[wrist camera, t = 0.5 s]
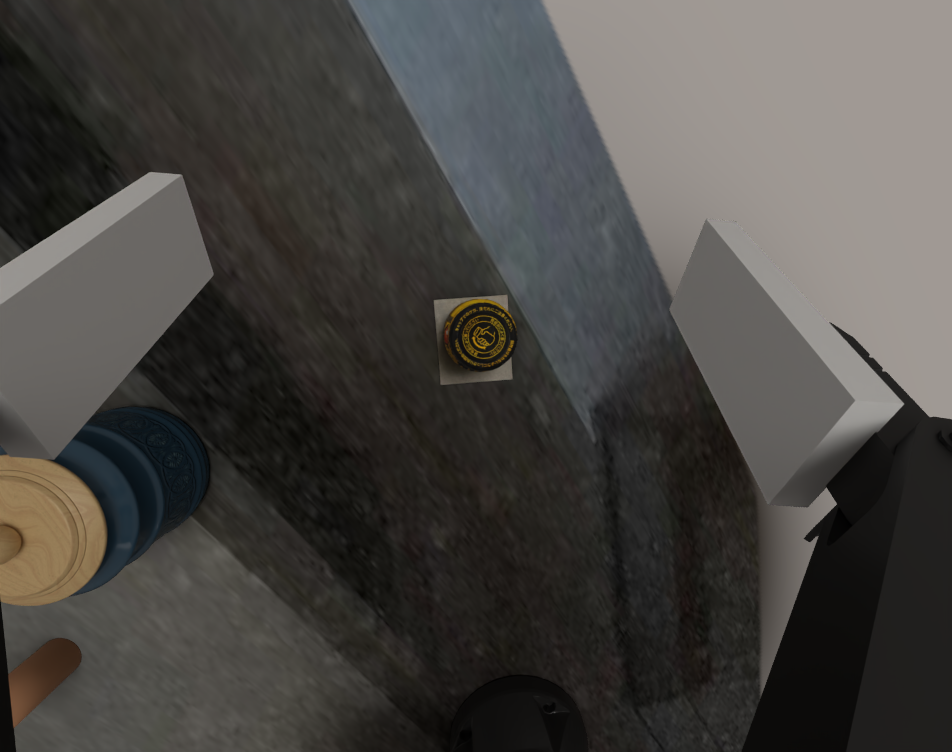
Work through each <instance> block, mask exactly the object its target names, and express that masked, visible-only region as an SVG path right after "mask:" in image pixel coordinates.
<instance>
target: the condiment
mask: <svg viewBox="0 0 952 752" xmlns="http://www.w3.org/2000/svg"><path fill="white" fill-rule="evenodd" d="M434 308H435V320H436V333H437V345H438V357H439V369H440V382H441V385H448V384H459V383H470V382H482V381H496V380H509V379H512V363H511V356H512V354H513V353H514V350H515V347H516V343H517V330H516V325H515V323H514V320H513V319H512V317H511V315H510V313H509V312H508V299H507V295H500V296H486V297H472V298H458V299H443V300H434Z"/></svg>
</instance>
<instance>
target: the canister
mask: <svg viewBox="0 0 952 752" xmlns="http://www.w3.org/2000/svg"><path fill="white" fill-rule="evenodd" d="M208 482H209V461H208V457H207V453H206V450H205V448H204V446H203V444H202V442H201V440H200V439H199V437H198V436H197V435H196V433H195V432H194V431H193V430H192V429H191V428H190V427H189V426H188V425H187V424H186V423H185V422H183V421H182V420H180V419H179V418H177V417H176V416H174V415H172V414H170V413H167V412H165V411H162V410H158V409H154V408H148V407H122V408H116V409H112V410H108V411H105V412H102V413H99V414H96V415H94V416H92V417H91V418H90V419H89V420H88V421H87V422H86V423H85V425H84V426H83V427H82V428H81V429H80V430H79V432H78V433H77V434H76V435H75V436H74V437H73V439H72V440H71V441H70V442H69V443H68V444H67V445H66V447H65V448H64V449H63V450H62V451H61V452H60V454H59V455H58V456H57V457H56V458H55V459H54V460H51V459H35V458H19V457H10V456H9V455H8V454H7V453H6V452H5V450H4V449H3V448H2V447H1V446H0V600H1V602H4V603H8V604H14V605H22V606H36V605H44V604H49V603H53V602H56V601H59V600H62V599H64V598H66V597H69V596H75V595H79V594H83V593H86V592H89V591H92V590H94V589H96V588H98V587H100V586H102V585H104V584H105V583H107V582H108V581H110V580H111V579H112V578H114V577H115V576H116V575H117V574H118V573H119V572H120V571H121V570H122V569H123V568H124V566H126V565H128V564H130V563H132V562H133V561H135V560H136V559H138V558H139V557H140V556H141V555H142V554H144V553H145V552H146V551H147V550H148V549H149V547H150V546H151V545H152V544H153V543H154V542H156V541H157V540H158V539H159V538H161V537H162V536H163V535H164V534H166V533H168V532H170V531H172V530H173V529H175V528H176V527H178V526H179V525H180V524H181V523H183V522H184V521H185V520H186V519H187V518H188V517H189V516H190V515H191V514H192V513H193V512H194V511H195V509H196V508H197V506H198V504H199V503H200V502H201V500H202V498H203V496H204V494H205V492H206V489H207V486H208Z"/></svg>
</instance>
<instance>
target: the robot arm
mask: <svg viewBox="0 0 952 752" xmlns="http://www.w3.org/2000/svg"><path fill="white" fill-rule="evenodd" d="M213 275H214V274H213V270H212V267H211V264H210V261H209V258H208V255H207V252H206V249H205V245H204V242H203V239H202V236H201V233H200V230H199V227H198V223H197V220H196V217H195V214H194V211H193V208H192V205H191V202H190V198H189V195H188V192H187V189H186V186H185V183H184V180H183V176H182V175H178V174H166V173H154V172H150V173H148V174H146V175H145V176H143V177H142V178H140V179H139V180H137V181H136V182H134V183H132V184H131V185H129V186H128V187H126V188H125V189H123V190H121V191H120V192H118V193H117V194H115V195H114V196H112V197H111V198H109V199H107V200H106V201H104V202H103V203H101V204H100V205H98V206H96V207H95V208H93V209H92V210H90V211H89V212H87V213H86V214H84V215H82V216H81V217H79V218H78V219H76V220H75V221H73V222H72V223H70V224H68V225H67V226H65V227H64V228H62V229H61V230H59V231H57V232H56V233H54V234H53V235H51V236H50V237H48V238H47V239H45V240H43V241H42V242H40V243H39V244H37V245H36V246H34V247H32V248H31V249H29V250H28V251H26V252H25V253H23V254H22V255H20V256H18V257H17V258H15V259H14V260H12V261H11V262H9V263H8V264H6V265H4V266H3V267H1V268H0V446H1V447H2V448H3V449H4V450H5V452H6V453H7V454H8V455H9V456H10V457H19V458H35V459H51V460H54V459H55V458H56V457H57V456H58V455H59V454H60V452H61V451H62V450H63V449H64V448H65V447H66V445H67V444H68V443H69V442H70V441H71V440H72V439H73V437H74V436H75V435H76V434H77V433H78V432H79V430H80V429H81V428H82V427H83V426H84V425H85V423H86V422H87V421H88V420H89V419H90V418H91V416H92V415H93V414H94V413H95V412H96V411H97V410H98V408H99V407H100V406H101V405H102V404H103V403H104V401H105V400H106V399H107V398H108V397H109V396H110V394H111V393H112V392H113V391H114V390H115V389H116V387H117V386H118V385H119V384H120V383H121V382H122V380H123V379H124V378H125V377H126V376H127V375H128V374H129V372H130V371H131V370H132V369H133V368H134V367H135V365H136V364H137V363H138V362H139V361H140V360H141V358H142V357H143V356H144V355H145V354H146V353H147V351H148V350H149V349H150V348H151V347H152V346H153V345H154V343H155V342H156V341H157V340H158V339H159V338H160V336H161V335H162V334H163V333H164V332H165V331H166V329H167V328H168V327H169V326H170V325H171V324H172V322H173V321H174V320H175V319H176V318H177V317H178V316H179V314H180V313H181V312H182V311H183V310H184V309H185V307H186V306H187V305H188V304H189V303H190V302H191V300H192V299H193V298H194V297H195V296H196V295H197V293H198V292H199V291H200V290H201V289H202V288H203V287H204V285H205V284H206V283H207V282H208V281H209V280H210V278H211V277H212V276H213ZM669 310H670V312H671V314H672V316H673V318H674V320H675V322H676V324H677V326H678V328H679V330H680V332H681V334H682V336H683V338H684V340H685V342H686V344H687V346H688V348H689V350H690V352H691V354H692V356H693V357H694V359H695V361H696V363H697V365H698V367H699V369H700V371H701V373H702V375H703V377H704V379H705V381H706V383H707V385H708V387H709V389H710V391H711V393H712V395H713V397H714V399H715V401H716V403H717V405H718V407H719V409H720V411H721V413H722V415H723V417H724V419H725V421H726V423H727V424H728V426H729V428H730V430H731V432H732V434H733V436H734V438H735V440H736V442H737V444H738V446H739V448H740V450H741V452H742V454H743V456H744V458H745V460H746V462H747V464H748V466H749V468H750V470H751V472H752V474H753V476H754V478H755V480H756V481H757V484H758V486H759V488H760V490H761V491H762V493H763V495H764V497H765V499H766V501H767V503H768V505H778V506H794V507H809V505H810V504H811V503H812V502H813V501H814V500H815V499H816V498H817V497H818V496H819V495H820V494H821V493H822V492H823V491H824V489H825V488H826V487H827V489H828V490H829V492H830V493H831V495H832V497H833V498H834V500H835V501H836V503H837V505H836V506H835V507H834V508H833V509H832V510H831V511H830V512H829V513H828V514H827V515H826V516H825V517H824V518H823V519H822V520H821V521H820V522H819V523H818V524H817V525H816V526H815V527H814V528H813V529H812V530H811V531H810V532H809V533H808V534H807V535H806V537H805V538H804V539H805V540H807V541H808V542H811V541H812V540H813V539H814V538H815V537H816V536H819V537H818V540H817V543H816V545H815V548H814V551H813V554H812V556H811V559H810V562H809V565H808V567H807V570H806V573H805V576H804V579H803V581H802V584H801V587H800V590H799V593H798V595H797V598H796V601H795V604H794V607H793V610H792V613H791V615H790V618H789V621H788V624H787V627H786V629H785V632H784V635H783V638H782V640H781V643H780V646H779V649H778V651H777V654H776V657H775V660H774V662H773V665H772V668H771V671H770V674H769V677H768V679H767V682H766V685H765V688H764V690H763V693H762V696H761V699H760V702H759V704H758V707H757V710H756V713H755V716H754V718H753V721H752V724H751V727H750V730H749V732H748V735H747V738H746V741H745V744H744V746H743V749H742V752H952V420H951V419H946V418H939V417H929V416H928V415H927V414H926V413H925V412H924V411H923V410H922V409H921V408H920V407H919V406H918V405H917V404H916V403H915V401H914V400H913V399H912V398H910V396H909V395H908V394H907V393H906V392H905V391H904V390H903V389H902V388H901V387H900V386H899V385H898V384H897V383H896V382H895V381H894V379H893V378H892V377H891V376H890V375H889V374H888V373H887V372H883V371H882V369H883V368H882V367H881V366H880V365H879V364H878V363H877V362H876V361H875V359H874V358H870V357H869V353H868V352H867V351H866V350H865V349H864V348H863V347H862V346H861V345H860V344H859V343H858V342H857V341H856V340H855V339H854V338H853V337H852V336H850V335H848V334H847V333H846V332H844V331H843V330H841V329H840V328H838V327H836V326H835V325H834V324H832V323H830V322H828V321H827V320H826V319H825V318H824V316H823V315H822V314H821V313H820V312H819V311H818V310H817V309H816V308H815V307H814V306H813V305H812V304H811V302H809V300H808V299H807V298H806V297H805V296H804V295H803V294H802V293H801V292H800V291H799V289H798V288H797V287H796V286H795V285H794V284H793V283H792V282H791V281H790V280H789V279H788V278H787V277H786V275H784V273H783V272H782V271H781V270H780V269H779V268H778V267H777V266H776V265H775V264H774V262H773V261H772V260H771V259H770V258H769V257H768V256H767V255H766V254H765V253H764V252H763V251H762V249H761V248H760V247H759V246H758V245H757V244H756V243H755V242H754V241H753V240H752V239H751V238H750V236H749V235H748V234H747V233H746V232H745V231H744V230H743V229H742V228H741V227H740V226H739V225H738V223H737V222H736V221H725V220H714V219H706V221H705V223H704V225H703V228H702V231H701V233H700V235H699V238H698V240H697V243H696V245H695V248H694V250H693V252H692V255H691V258H690V260H689V262H688V265H687V267H686V270H685V272H684V275H683V277H682V280H681V282H680V285H679V287H678V289H677V292H676V294H675V297H674V299H673V302H672V304H671V307H670V309H669ZM0 752H16V746H15V736H14V727H13V717H12V707H11V697H10V688H9V678H8V668H7V658H6V649H5V639H4V629H3V620H2V610H1V600H0ZM450 752H588V740H587V734H586V730H585V727H584V724H583V721H582V718H581V715H580V712H579V710H578V708H577V706H576V704H575V703H574V701H573V700H572V699H571V697H570V696H569V695H568V694H567V693H566V692H565V691H563V690H562V689H561V688H560V687H558V686H556V685H555V684H553V683H551V682H549V681H546V680H543V679H540V678H536V677H529V676H513V677H506V678H502V679H499V680H496V681H493V682H491V683H488V684H486V685H485V686H483V687H481V688H480V689H478V690H477V691H475V692H474V693H473V694H472V695H471V696H470V697H469V698H468V699H467V700H466V701H465V702H464V703H463V705H462V706H461V707H460V709H459V710H458V712H457V714H456V716H455V718H454V721H453V724H452V728H451V734H450Z"/></svg>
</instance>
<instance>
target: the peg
mask: <svg viewBox="0 0 952 752" xmlns="http://www.w3.org/2000/svg"><path fill="white" fill-rule="evenodd" d="M80 662H81V652H80V649H79V648H78V646H77V645H76V644H75V643H73V642H72V641H70V640H67V639H63V638H57V639H53V640H50V641H48V642H47V643H46V644H45V645H43V646H42V647H41V648H40V649H39V650H37V651H36V652H35V653H34V654H33V655H31V656H30V657H29V658H28V659H26V660H25V661H24V662H23V663H22V664H20V665H19V666H18V667H17V668H16V669H14V670H13V671H12V672H11V673H9V674H8V678H9V688H10V697H11V707H12V717H13V727H14V728H15V727H16V726H17V725H18V724H19V723H20V722H21V721H22V720H23V719H24V718H25V717H26V716H27V715H28V714H29V713H30V712H31V711H32V710H33V709H34V708H35V707H36V706H37V705H39V704H40V703H41V702H42V701H43V700H44V699H45V698H46V697H47V696H48V695H49V694H50V693H51V692H52V691H53V690H54V689H55V688H56V687H57V686H58V685H59V684H60V683H61V682H62V681H64V680H65V679H66V678H67V677H68V676H69V675H70V674H71V673H72V672H73V671H74V670H75V669H76V668H77V667H78V666H79V664H80Z"/></svg>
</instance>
